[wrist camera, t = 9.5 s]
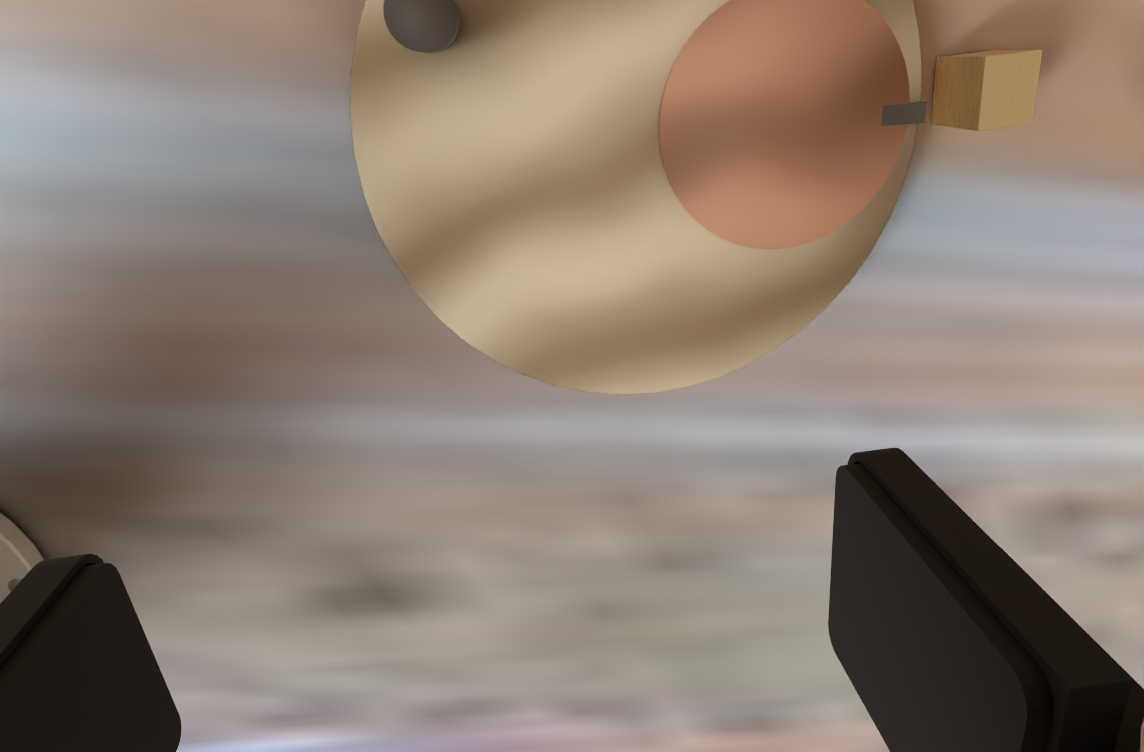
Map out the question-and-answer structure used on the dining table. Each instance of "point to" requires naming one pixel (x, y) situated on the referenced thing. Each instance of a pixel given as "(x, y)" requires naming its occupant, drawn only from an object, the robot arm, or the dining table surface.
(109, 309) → the dining table surface
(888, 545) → the robot arm
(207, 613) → the dining table surface
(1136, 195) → the dining table surface
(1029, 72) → the wooden toy cube
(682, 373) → the turntable
